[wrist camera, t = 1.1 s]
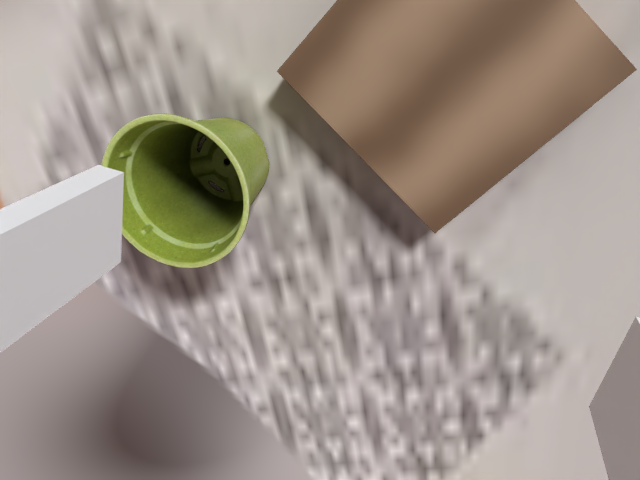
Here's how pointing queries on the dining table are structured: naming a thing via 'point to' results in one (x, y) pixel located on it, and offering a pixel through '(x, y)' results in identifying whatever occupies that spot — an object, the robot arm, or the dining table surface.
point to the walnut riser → (452, 88)
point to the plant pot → (186, 185)
